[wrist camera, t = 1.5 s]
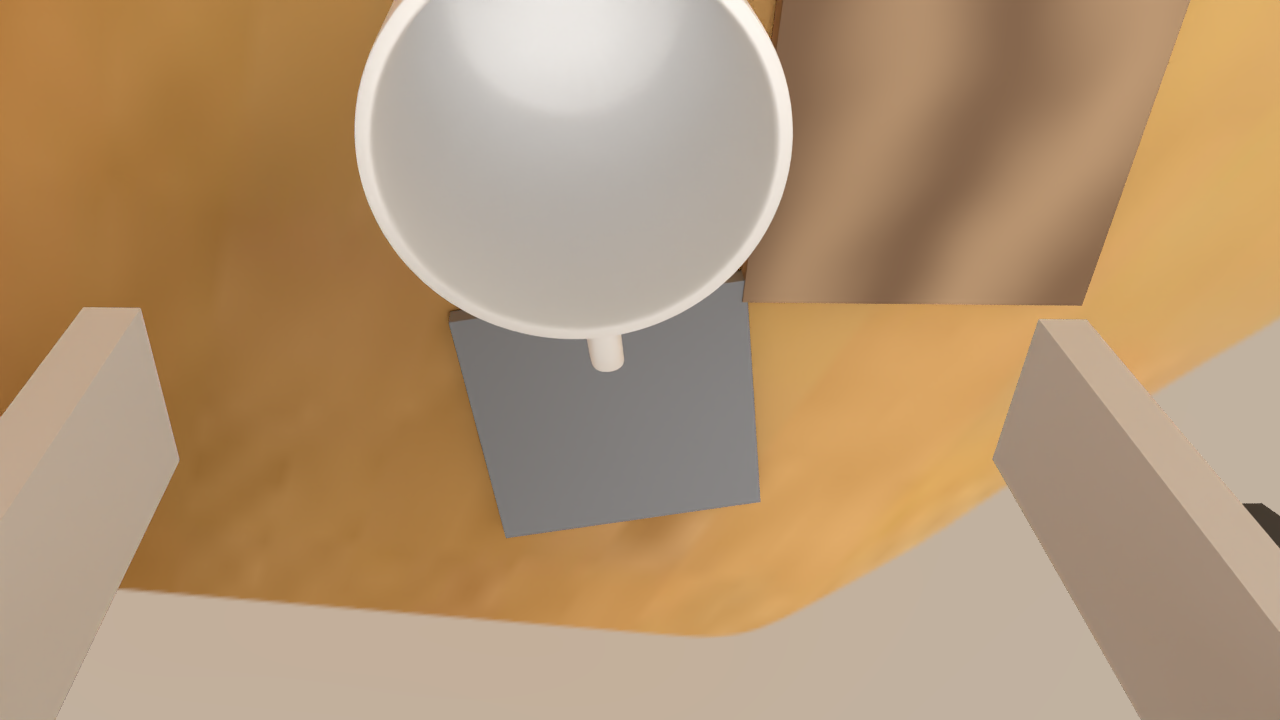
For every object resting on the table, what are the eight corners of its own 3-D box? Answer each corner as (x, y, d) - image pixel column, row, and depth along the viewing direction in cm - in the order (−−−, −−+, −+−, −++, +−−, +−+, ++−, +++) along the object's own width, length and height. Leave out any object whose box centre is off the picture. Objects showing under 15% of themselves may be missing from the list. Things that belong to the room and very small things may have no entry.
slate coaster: (506, 525, 39) (506, 538, 39) (450, 311, 34) (448, 322, 33) (757, 489, 39) (760, 501, 39) (742, 270, 34) (746, 280, 33)
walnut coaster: (738, 290, 34) (742, 302, 33) (788, -88, 27) (794, -82, 27) (1071, 294, 35) (1081, 305, 35) (1196, -68, 29) (1212, -62, 28)
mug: (703, 227, 33) (774, 462, 23) (441, 235, 32) (396, 481, 22) (722, -179, 26) (833, -97, 16) (392, -178, 26) (297, -92, 16)
